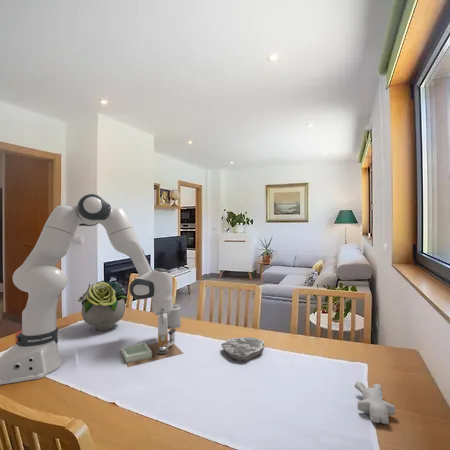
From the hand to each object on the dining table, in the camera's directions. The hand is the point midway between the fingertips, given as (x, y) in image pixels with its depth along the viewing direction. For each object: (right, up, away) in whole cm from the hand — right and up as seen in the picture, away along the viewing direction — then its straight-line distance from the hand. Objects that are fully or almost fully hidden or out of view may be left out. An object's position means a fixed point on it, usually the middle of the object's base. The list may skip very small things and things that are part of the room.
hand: (162, 337), depth 128 cm
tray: (-9, -3, -10) cm, 14 cm away
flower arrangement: (-36, -5, +26) cm, 45 cm away
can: (0, -5, +25) cm, 25 cm away
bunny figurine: (+70, -5, -43) cm, 82 cm away
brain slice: (+34, -5, -4) cm, 35 cm away
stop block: (0, -3, 0) cm, 3 cm away
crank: (+3, -2, -4) cm, 5 cm away
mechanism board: (-3, -5, -7) cm, 9 cm away
